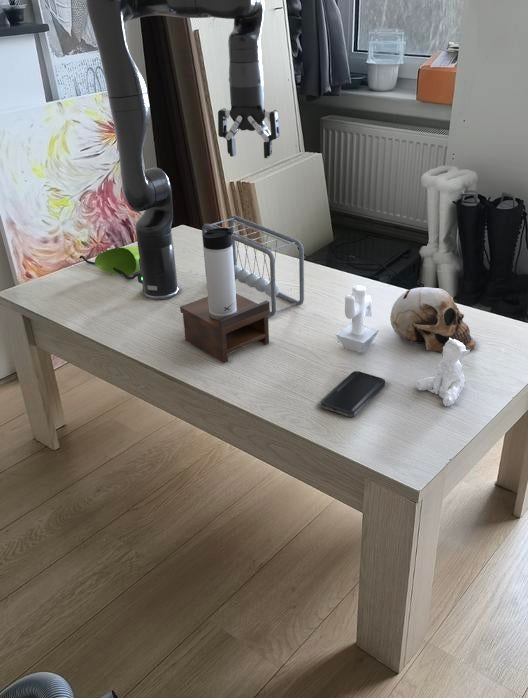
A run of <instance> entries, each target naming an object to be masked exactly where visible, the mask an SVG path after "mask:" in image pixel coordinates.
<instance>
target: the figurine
mask: <svg viewBox="0 0 528 698" xmlns="http://www.w3.org/2000/svg"><path fill="white" fill-rule="evenodd" d="M351 291H352V293H351V294H350V295H346V296H345V297H344V315H345V317H346V318H347V319H350V320H351V323H350V324H348V325H347V326H346V327H345V328H343V329H342V330H340V331H339V332H337V333H336V334H335V336H336V337H337V339H338V340H339V342H340V343H341V345H342V346H343V348H344V349H347V350H350V351H354V352H357V353H359V354H360V353H363V351H365V350H366V349H368V347H370V346H371V345H372V343H373V341H374V339H375V338H376V336H377V335H378V333H379V331H380V330H379V329H375V328H372V327H369V326H365V318H370V317H371V316H372V313H373V312H372V309H373V300H372V297H371V296H370V295H369V294H367V288H366V286H363V285H357V284H356V285H353V286H352V290H351Z"/></svg>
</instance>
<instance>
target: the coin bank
mask: <svg viewBox="0 0 528 698" xmlns="http://www.w3.org/2000/svg"><path fill="white" fill-rule="evenodd" d="M389 318H390V319H389V320H390V321H389V322H390V326H391V328H392V330H393V331H394V333H396V335H398V336H399V337H400V338H401V339H403V340H405V341H406V342H409V343H412V344H413V343H414V344H415V343H417V344H425V350H426V351H429V352H433V351H434V352H439V353H443V347H444V346H445V343H447V341H448V340H449V337H450V338H451V339H452V340H453V339H455V340H457V341H459V342H460V343H463V344H464V346H465V347H466V350H470V351H472V350H474V349H475V346H476V341H475V340H474V338H473V337H472V336H471V334H470V332H471V331H470V327H469V325H468V323H466V322H464V320H463V319H464V318H465V314H464V313H463V312H462V311H460V309H459V307H458V306H457V304H456V302H455V299H454V296H451V295H450V294H449V293H448V291H446V290H444V289H443V288H437V287H427V286H424V287H414V288H411V289H408V290H405V292H403V293H401V295H399V297H398V298H397V299H396V300H395V302H394V303H393V305H392V307H391V312H390V317H389Z"/></svg>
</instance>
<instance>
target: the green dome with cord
mask: <svg viewBox="0 0 528 698" xmlns="http://www.w3.org/2000/svg"><path fill="white" fill-rule="evenodd" d="M94 262H95V265H94V266H96V268H97V269H98V270H100V271H102V272H105V273H109V274H113V275H122V274H120V273H119V272H116V271H115V270H114V269H113V268H116V269H118V270H120V271H122V272H123V273H124V274H126V275H127V276H129V275H132V274H136V273H137V272H139V271H140V265H139V250H138V245H131V246H121V247H113V248H110V249H107V250H105V251H102V252H100V253H98V254H97V255H96V257H95V258H94ZM122 276H123V275H122Z"/></svg>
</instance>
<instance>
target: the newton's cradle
mask: <svg viewBox="0 0 528 698" xmlns="http://www.w3.org/2000/svg"><path fill="white" fill-rule="evenodd" d="M225 222H226V223H227V222H229V227H228V228H229V229H233V234H232V235H231V236H232V247H233V261H234V276H235V280H238V282H239V283H241V284H246V285H247V286H248V287H249V288H252V289H254V288H255V290H256V291H257V292H259V293H264V294H265V295H266V296H267V297H269V298H270V301H271V303H270V305H271V306H270V307H271V310H270V316H269V317H274V316H275V315H276V313H277V312H280V311H283V310H285V309H287V308H290V307H293V306H302V305H303V304H304V302H305V249H304V245H303V243H302V242H301V241H300V240H299V239H296V238H294V237H291V236H289V235H287V234H284V233H281V232H279V231H276V230H275V229H274V230H273V229H271V228H268V227H265V226H264V225H261V224H258V223H255V222H253V221H250V220H248V219H246V218H243V217H241V216H238V215H232V216H231V217H230V218H227V219H224V220H221V221H217V222H214V223H204V224H203V225H202V227H201V237H202V238H203V235H204V234H205V233H206V232H207V229H208V230H212V229H216V228H223V227H222V226H220V224H222V223H225ZM235 223H236V224H237V225H235ZM218 224H219V225H218ZM237 226H242V227H246V228H243V229H241V228H239V230H237V231H235V229H236V228H235V227H237ZM247 229H248V232H247V234H245V235H241V231H245V230H247ZM250 229H251V230H253V231H255V232H251V233H250ZM256 233H257V236H256V238H254V239H251V238H249V235H252V234H256ZM259 233H261V234H263V235H264V236H259ZM246 236H247V237H246ZM264 237H266V238H268V237H271V238H273V240H270V241H268V239H266V241H265V242H263V243H260V242H258V240H259V239H261V238H264ZM274 241H275V247H274V248H272V247H270V246H268V245H267V243H270V242H274ZM278 241H281V242H283V243H286V244H284V245H280V246H278ZM203 243H204V242H203V241H202V248H203V249H204V247H203V245H204V244H203ZM240 244H243V245H244V248H245V256H246V258H245V261H244V266H246V263H248V266H249V270H247V269H246V268H243V263H242V259H241V255H240V251H239V245H240ZM291 245H296V246H297V247H298V262H299V263H298V265H299V267H298V268H299V269H298V270H299V272H298V273H299V274H298V275H299V276H298V277H299V300H297V299H295V298H293V297H291V296H289V295H286V294H284V293H283V292H281V291H280V287H279V285H278V284H277V282H276V259H275V258H277V257H276V256H277V255H276V254H277V250H279V249H282V248H286V247H288V246H291ZM277 246H278V247H277ZM247 247H250V248H252V249H253V252H254V259H255V261H254V263H253V268H256V267H255V266H257V271H258V274H256V273H255V270H253V272H252V269H251V264H250V260H249V256H248V249H247ZM256 251H259V252H261V253H263V257H264V260H263V264H265V266H263V267H262V268H263V269H262V273H264V271H265V267H266V270H267V271H266V272H267V275H268V279H267V278H265V277H264V275H262V276H261V273H260V268H259V263H258V260H257V252H256ZM273 251H275V252H274V254H273ZM266 255H267V256H268V258H269V269H268V266H267V259H266ZM237 256H238V257H239V262H240V266H239V265H238V259H237ZM203 258H204V257H203ZM204 261H205V258H204ZM204 270H205V269H204ZM269 272H270V273H269ZM205 273H206V270H205ZM268 280H269V281H268ZM277 296H278V297H280V298H281V299H284V300H286V301H287V302H290V303H291V304H289V305H286V306H284V307H281V308H279V309H277Z"/></svg>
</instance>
